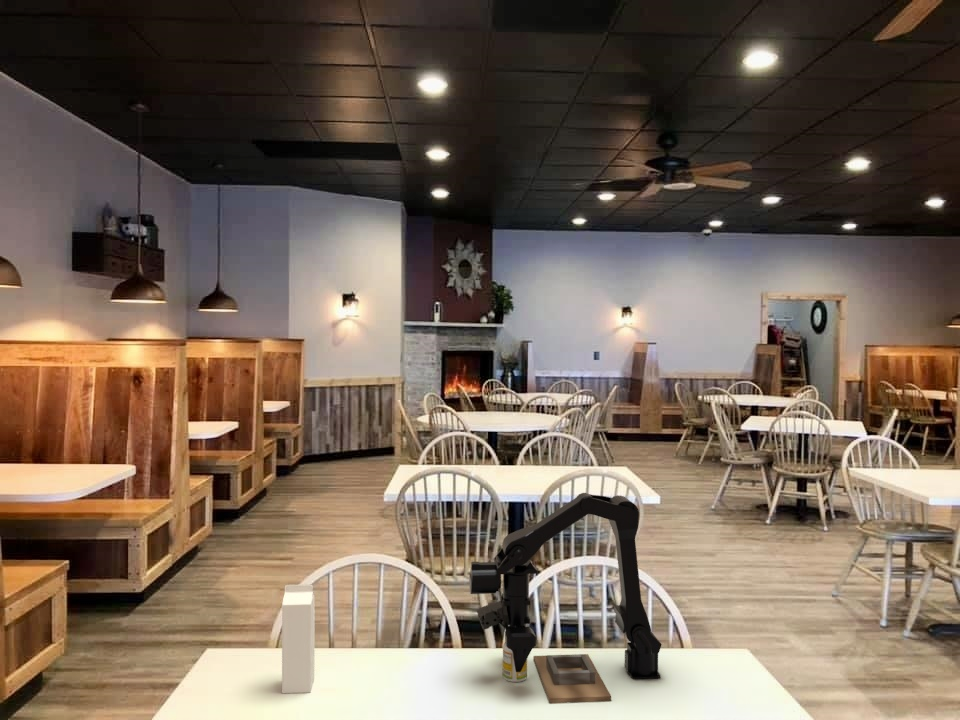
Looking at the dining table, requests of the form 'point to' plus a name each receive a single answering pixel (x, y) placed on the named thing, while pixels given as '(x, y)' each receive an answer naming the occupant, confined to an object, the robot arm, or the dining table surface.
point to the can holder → (570, 679)
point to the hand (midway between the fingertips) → (515, 662)
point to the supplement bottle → (512, 667)
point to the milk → (298, 638)
